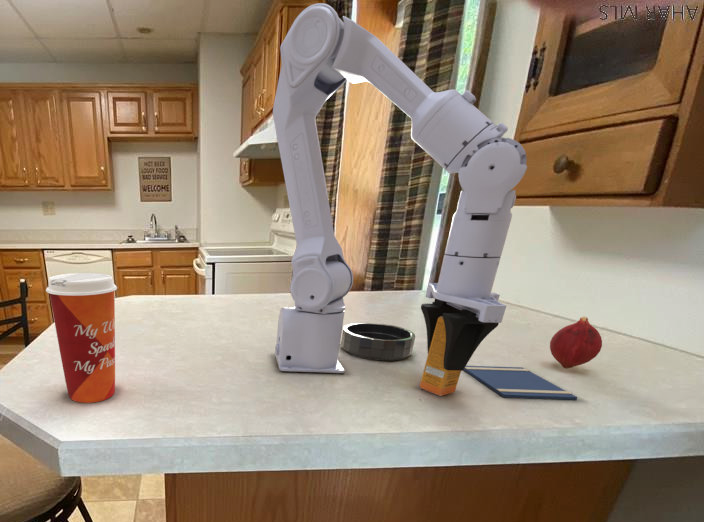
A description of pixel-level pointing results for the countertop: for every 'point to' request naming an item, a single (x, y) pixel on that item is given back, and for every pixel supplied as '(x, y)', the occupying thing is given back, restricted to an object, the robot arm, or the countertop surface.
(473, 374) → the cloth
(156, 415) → the countertop surface
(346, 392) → the countertop surface
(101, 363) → the coffee cup
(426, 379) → the supplement box
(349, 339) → the pan
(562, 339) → the onion
